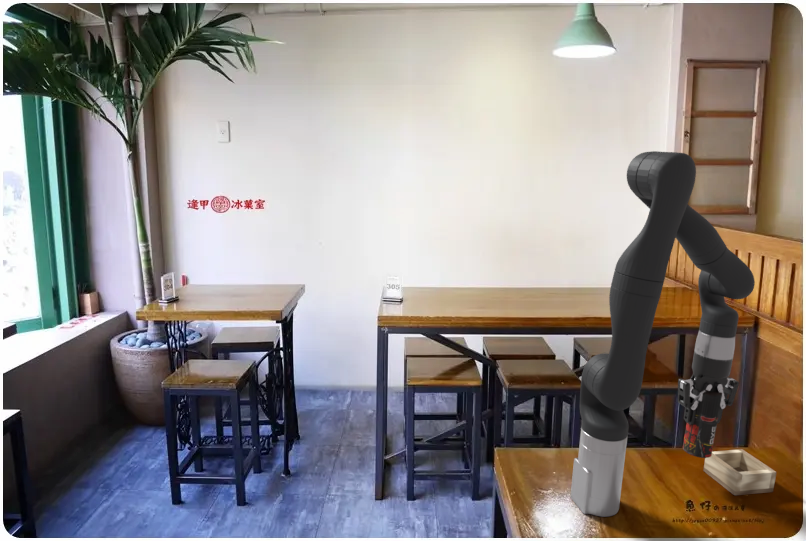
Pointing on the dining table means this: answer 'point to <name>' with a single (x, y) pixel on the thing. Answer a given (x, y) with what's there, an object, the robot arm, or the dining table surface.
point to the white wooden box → (740, 472)
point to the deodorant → (703, 426)
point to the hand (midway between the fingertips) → (701, 422)
